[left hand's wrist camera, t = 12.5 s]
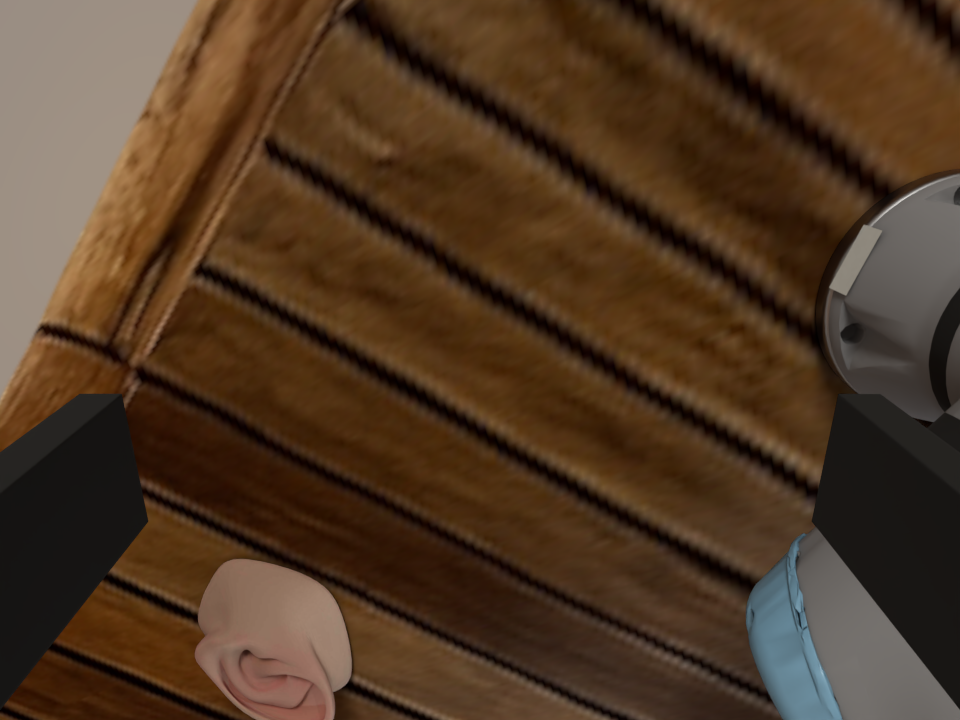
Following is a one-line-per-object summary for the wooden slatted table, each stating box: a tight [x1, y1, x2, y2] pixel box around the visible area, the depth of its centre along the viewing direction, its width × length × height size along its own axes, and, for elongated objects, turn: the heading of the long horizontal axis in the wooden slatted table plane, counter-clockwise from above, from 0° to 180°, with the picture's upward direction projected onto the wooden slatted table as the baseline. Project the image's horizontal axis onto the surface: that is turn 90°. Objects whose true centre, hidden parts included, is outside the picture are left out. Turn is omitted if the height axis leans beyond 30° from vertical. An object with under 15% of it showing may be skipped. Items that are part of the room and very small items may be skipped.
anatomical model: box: [195, 559, 352, 720], centre depth 50 cm, size 13×4×12 cm
